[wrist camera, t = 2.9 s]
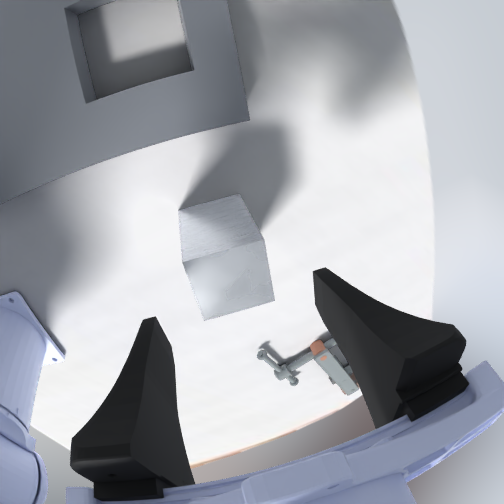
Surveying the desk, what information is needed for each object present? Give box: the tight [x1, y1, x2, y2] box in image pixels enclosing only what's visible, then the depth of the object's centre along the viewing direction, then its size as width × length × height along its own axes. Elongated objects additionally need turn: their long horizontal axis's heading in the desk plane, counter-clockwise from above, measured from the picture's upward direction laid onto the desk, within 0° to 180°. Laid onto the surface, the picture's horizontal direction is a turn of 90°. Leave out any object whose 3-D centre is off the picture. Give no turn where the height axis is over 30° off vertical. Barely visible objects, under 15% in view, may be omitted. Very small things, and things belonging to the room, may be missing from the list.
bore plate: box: [0, 0, 250, 205], centre depth 12 cm, size 20×12×2 cm, turn 100°
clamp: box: [257, 338, 359, 395], centre depth 32 cm, size 15×2×10 cm
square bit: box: [178, 194, 275, 321], centre depth 19 cm, size 4×4×6 cm
